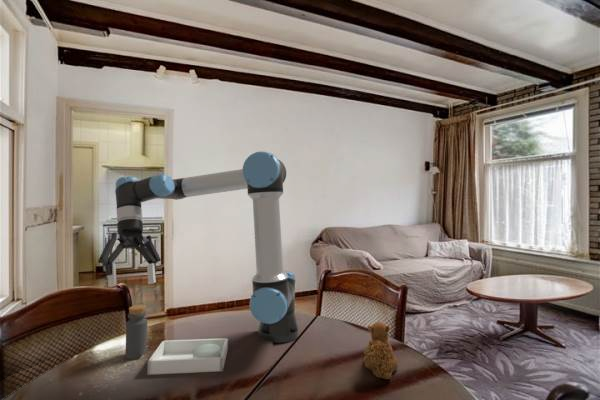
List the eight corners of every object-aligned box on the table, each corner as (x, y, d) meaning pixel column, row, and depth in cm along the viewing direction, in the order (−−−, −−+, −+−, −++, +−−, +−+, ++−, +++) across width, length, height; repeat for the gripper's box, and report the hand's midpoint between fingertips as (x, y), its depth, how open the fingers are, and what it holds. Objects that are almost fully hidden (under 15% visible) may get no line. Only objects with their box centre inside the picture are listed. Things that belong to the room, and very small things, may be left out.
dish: (221, 353, 96) (222, 343, 96) (218, 366, 88) (218, 355, 88) (195, 354, 95) (195, 344, 95) (189, 367, 87) (190, 357, 87)
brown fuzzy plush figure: (397, 361, 95) (397, 318, 95) (400, 388, 81) (400, 337, 81) (364, 357, 97) (364, 315, 98) (361, 382, 84) (362, 333, 84)
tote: (227, 352, 99) (228, 338, 99) (222, 374, 86) (223, 358, 86) (162, 355, 96) (162, 340, 97) (147, 378, 84) (147, 361, 84)
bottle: (137, 361, 93) (138, 310, 93) (120, 358, 94) (122, 309, 94) (150, 352, 98) (151, 304, 99) (134, 350, 99) (136, 303, 100)
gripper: (154, 227, 117) (158, 284, 111) (84, 220, 95) (84, 290, 89) (168, 222, 114) (173, 279, 108) (99, 212, 92) (100, 284, 86)
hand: (133, 284), depth 98 cm, fingers open, 13 cm apart
